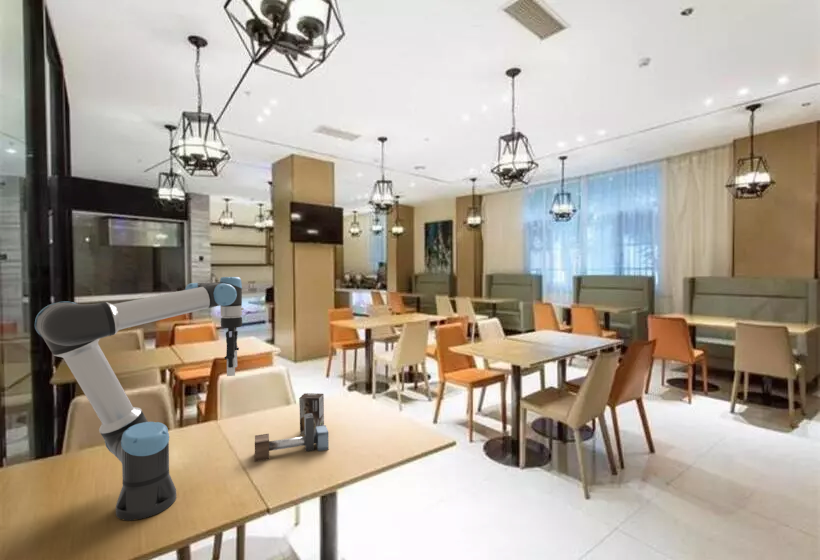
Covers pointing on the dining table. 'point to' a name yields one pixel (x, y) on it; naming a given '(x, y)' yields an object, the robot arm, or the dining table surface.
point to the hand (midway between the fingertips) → (232, 371)
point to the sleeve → (261, 447)
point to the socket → (322, 438)
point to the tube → (298, 441)
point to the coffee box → (311, 409)
